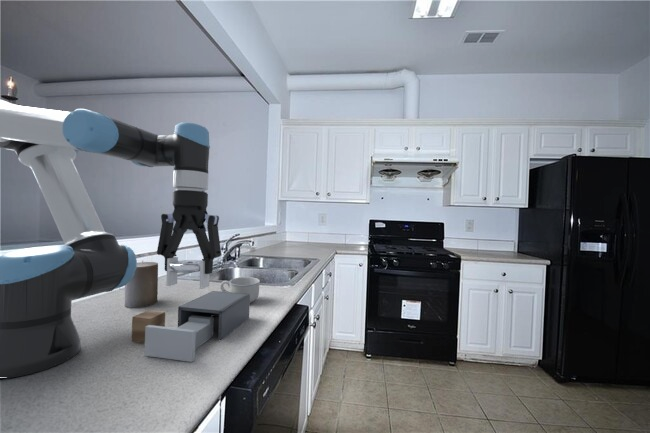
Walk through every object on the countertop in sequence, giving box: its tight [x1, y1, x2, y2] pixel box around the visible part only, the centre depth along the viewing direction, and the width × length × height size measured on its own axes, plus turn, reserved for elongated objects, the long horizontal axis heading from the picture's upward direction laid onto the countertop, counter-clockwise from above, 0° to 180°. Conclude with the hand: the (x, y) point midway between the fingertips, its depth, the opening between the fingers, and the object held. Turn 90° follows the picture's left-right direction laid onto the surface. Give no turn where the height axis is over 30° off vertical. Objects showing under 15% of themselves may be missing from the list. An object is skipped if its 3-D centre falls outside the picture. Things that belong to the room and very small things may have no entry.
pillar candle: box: [124, 260, 159, 309], centre depth 96 cm, size 10×10×15 cm
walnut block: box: [131, 309, 166, 344], centre depth 70 cm, size 5×5×6 cm
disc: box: [169, 259, 202, 274], centre depth 66 cm, size 8×8×2 cm
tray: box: [144, 315, 215, 363], centre depth 67 cm, size 12×12×6 cm
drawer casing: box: [177, 290, 251, 341], centre depth 79 cm, size 16×12×8 cm
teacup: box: [220, 276, 261, 304], centre depth 102 cm, size 14×11×8 cm
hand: (188, 286), depth 66 cm, fingers closed on disc, 8 cm apart
